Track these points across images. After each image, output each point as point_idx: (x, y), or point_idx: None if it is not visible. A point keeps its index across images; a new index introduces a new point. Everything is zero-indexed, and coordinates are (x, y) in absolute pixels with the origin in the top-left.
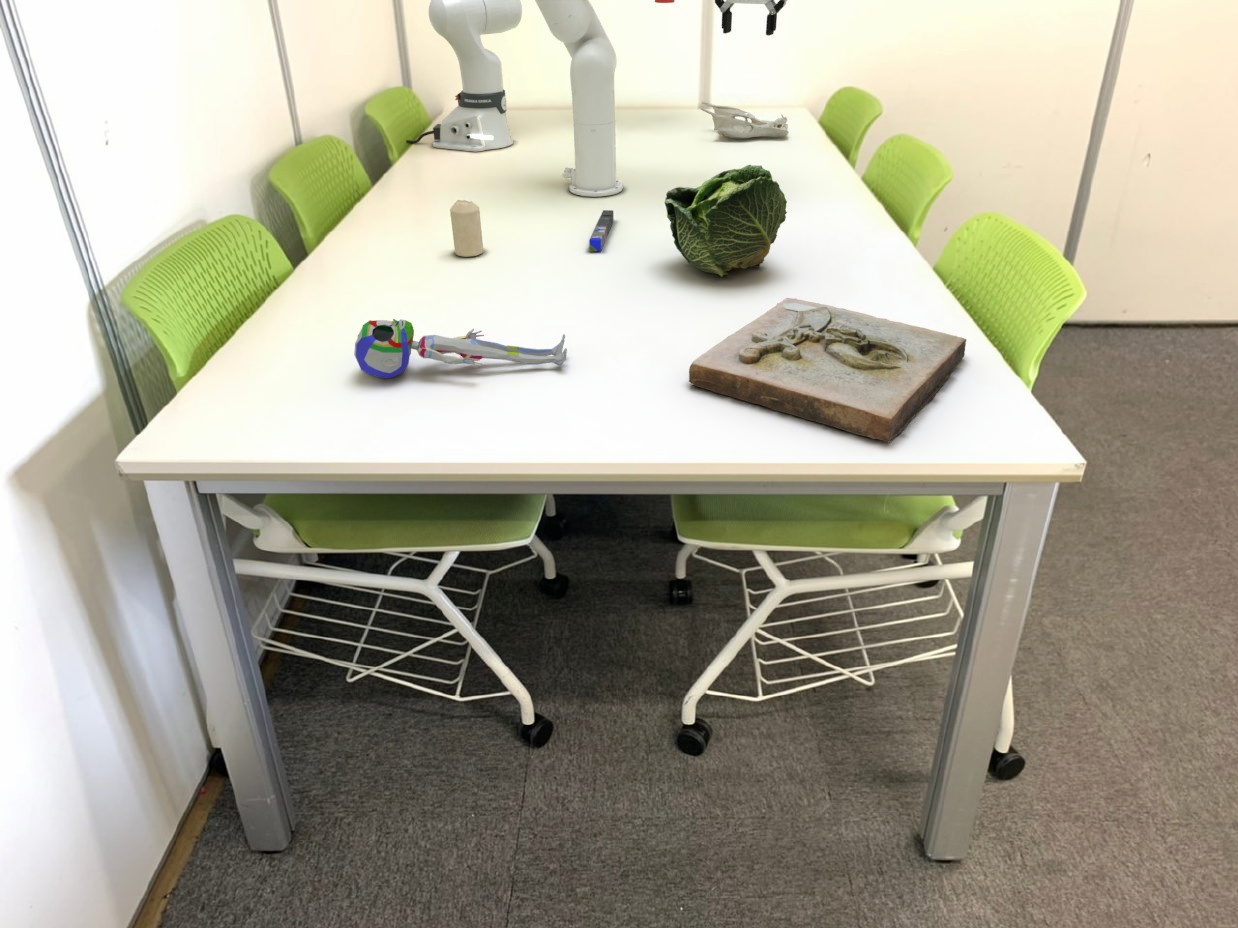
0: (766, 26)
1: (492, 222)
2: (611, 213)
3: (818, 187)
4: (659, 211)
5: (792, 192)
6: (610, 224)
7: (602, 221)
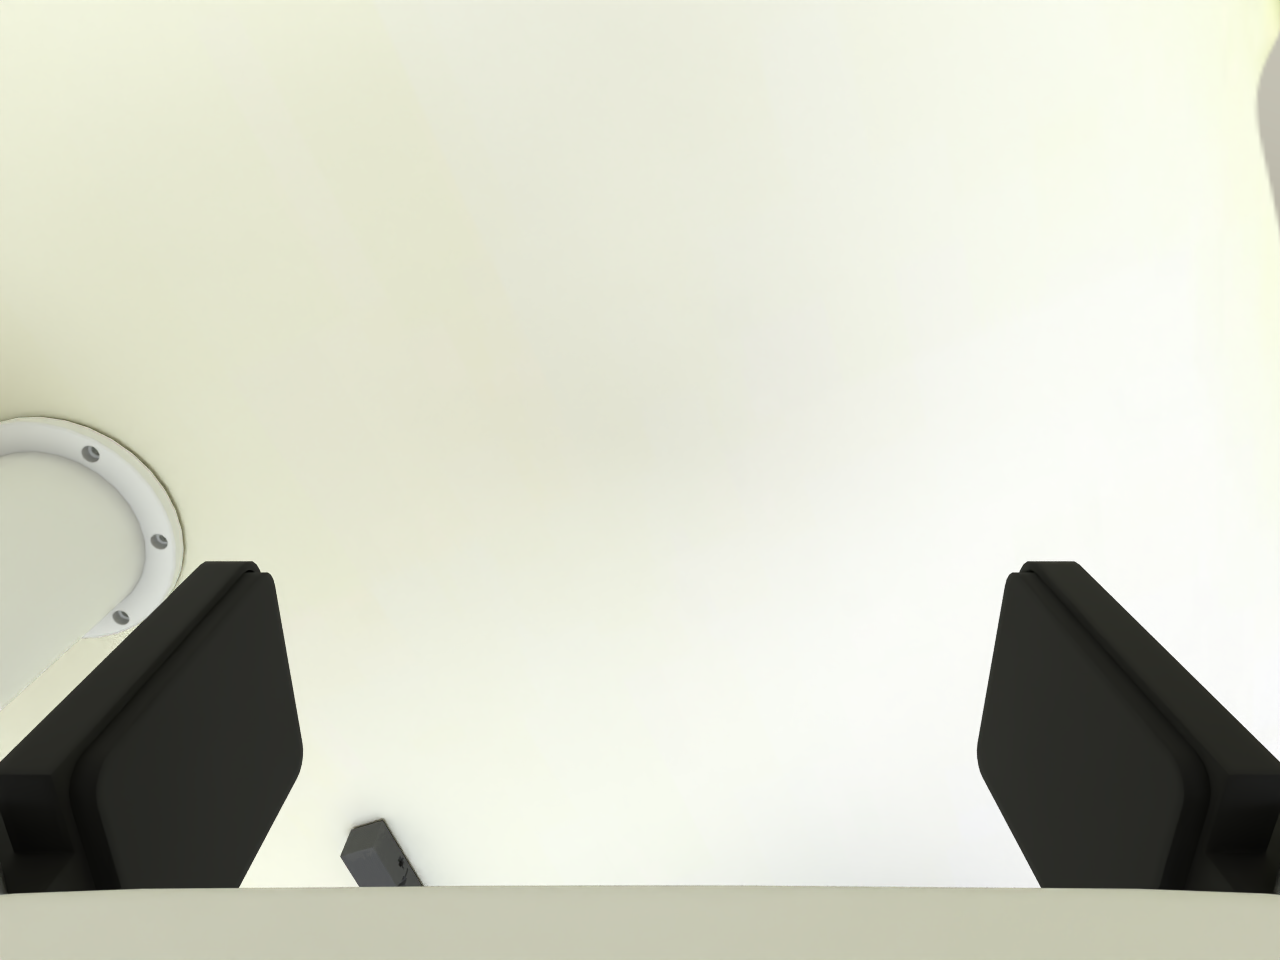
0: (1026, 852)
1: None
2: (387, 874)
3: (1004, 39)
4: (464, 670)
5: (892, 195)
6: (414, 886)
7: None
